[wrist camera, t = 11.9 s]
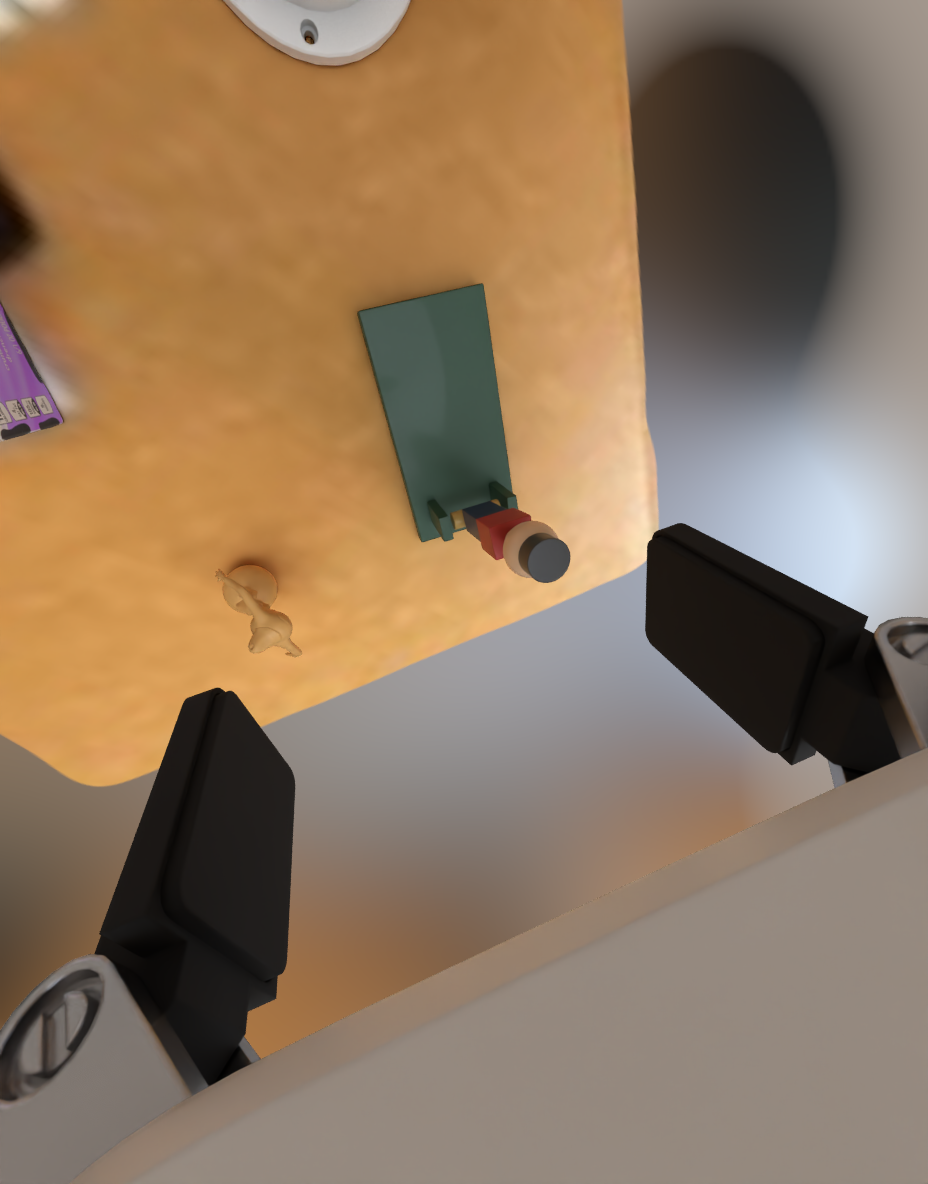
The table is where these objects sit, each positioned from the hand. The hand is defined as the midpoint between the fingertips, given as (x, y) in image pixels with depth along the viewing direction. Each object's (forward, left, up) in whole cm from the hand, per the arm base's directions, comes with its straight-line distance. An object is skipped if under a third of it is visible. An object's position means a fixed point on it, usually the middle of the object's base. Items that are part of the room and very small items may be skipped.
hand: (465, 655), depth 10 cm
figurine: (+11, -8, -29) cm, 32 cm away
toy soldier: (+3, +8, -18) cm, 20 cm away
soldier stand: (-1, +7, -29) cm, 30 cm away
